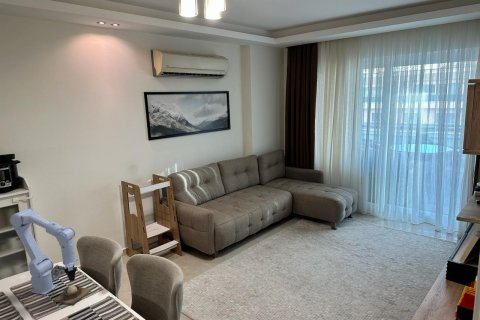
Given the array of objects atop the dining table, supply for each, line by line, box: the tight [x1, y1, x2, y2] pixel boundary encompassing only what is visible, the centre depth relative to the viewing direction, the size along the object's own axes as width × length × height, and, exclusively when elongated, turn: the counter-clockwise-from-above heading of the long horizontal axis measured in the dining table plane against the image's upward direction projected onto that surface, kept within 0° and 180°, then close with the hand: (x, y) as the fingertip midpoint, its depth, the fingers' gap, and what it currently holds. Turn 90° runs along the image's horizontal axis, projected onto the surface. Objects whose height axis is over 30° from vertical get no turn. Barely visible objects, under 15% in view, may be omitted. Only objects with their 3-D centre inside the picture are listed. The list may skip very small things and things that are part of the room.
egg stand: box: [53, 284, 92, 306], centre depth 161 cm, size 12×12×4 cm
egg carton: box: [51, 264, 67, 281], centre depth 181 cm, size 11×8×4 cm
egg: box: [67, 285, 77, 294], centre depth 161 cm, size 5×5×5 cm
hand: (71, 277), depth 162 cm, fingers open, 7 cm apart
